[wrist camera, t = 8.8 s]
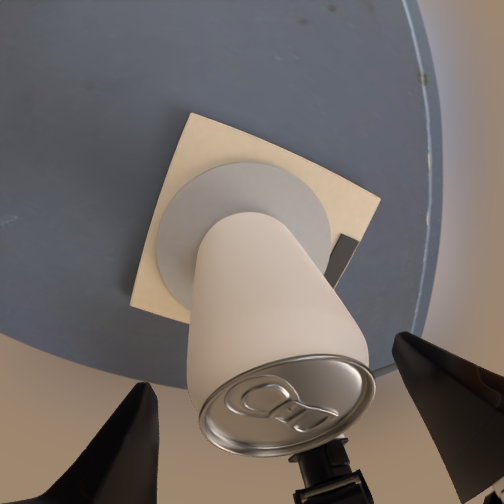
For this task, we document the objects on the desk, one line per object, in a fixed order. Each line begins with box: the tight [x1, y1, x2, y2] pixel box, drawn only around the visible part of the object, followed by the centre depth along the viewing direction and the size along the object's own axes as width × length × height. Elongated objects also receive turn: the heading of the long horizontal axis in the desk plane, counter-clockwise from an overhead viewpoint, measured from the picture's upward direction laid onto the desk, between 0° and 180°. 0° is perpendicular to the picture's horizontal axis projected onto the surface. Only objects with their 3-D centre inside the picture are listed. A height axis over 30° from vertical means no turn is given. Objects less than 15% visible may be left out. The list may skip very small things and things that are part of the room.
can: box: [187, 212, 376, 457], centre depth 13 cm, size 6×6×12 cm
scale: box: [130, 113, 381, 324], centre depth 19 cm, size 14×14×2 cm
